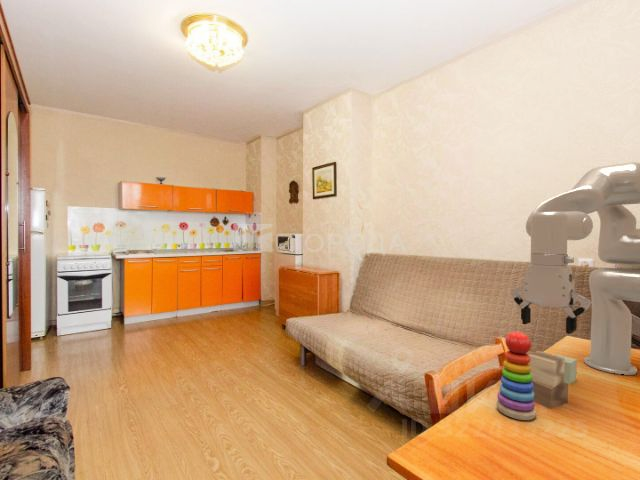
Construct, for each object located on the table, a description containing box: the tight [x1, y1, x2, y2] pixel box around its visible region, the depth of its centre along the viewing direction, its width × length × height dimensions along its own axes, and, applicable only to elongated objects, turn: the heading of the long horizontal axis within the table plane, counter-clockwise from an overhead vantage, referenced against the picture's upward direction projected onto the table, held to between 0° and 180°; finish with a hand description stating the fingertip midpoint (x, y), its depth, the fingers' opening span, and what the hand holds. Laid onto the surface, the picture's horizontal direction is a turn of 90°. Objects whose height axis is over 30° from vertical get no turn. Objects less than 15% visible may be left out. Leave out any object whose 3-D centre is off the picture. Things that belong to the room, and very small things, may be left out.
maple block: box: [528, 350, 565, 387], centre depth 82 cm, size 6×6×6 cm
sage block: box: [555, 353, 578, 385], centre depth 94 cm, size 5×5×6 cm
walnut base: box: [531, 380, 569, 410], centre depth 82 cm, size 7×7×5 cm
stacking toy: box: [496, 331, 537, 421], centre depth 75 cm, size 8×8×19 cm
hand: (547, 327), depth 82 cm, fingers open, 9 cm apart
